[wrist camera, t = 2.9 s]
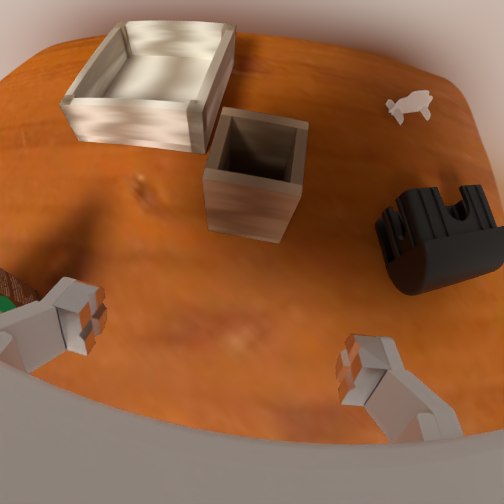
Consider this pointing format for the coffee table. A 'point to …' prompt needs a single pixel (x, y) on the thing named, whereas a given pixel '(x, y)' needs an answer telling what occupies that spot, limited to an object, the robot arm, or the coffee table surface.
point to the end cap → (439, 239)
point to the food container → (14, 292)
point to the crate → (153, 85)
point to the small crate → (254, 174)
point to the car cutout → (411, 105)
